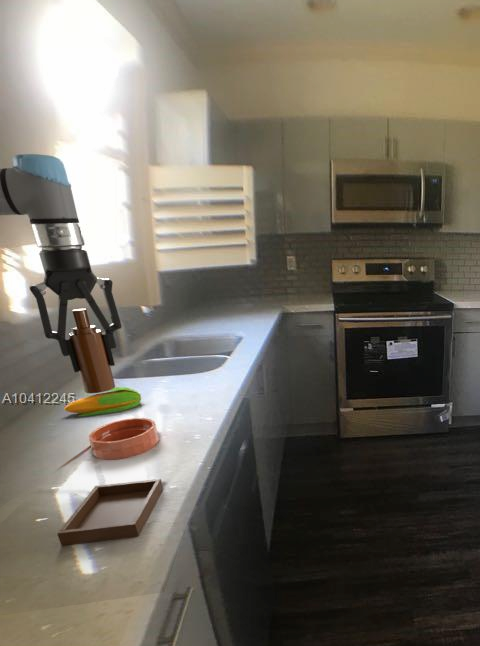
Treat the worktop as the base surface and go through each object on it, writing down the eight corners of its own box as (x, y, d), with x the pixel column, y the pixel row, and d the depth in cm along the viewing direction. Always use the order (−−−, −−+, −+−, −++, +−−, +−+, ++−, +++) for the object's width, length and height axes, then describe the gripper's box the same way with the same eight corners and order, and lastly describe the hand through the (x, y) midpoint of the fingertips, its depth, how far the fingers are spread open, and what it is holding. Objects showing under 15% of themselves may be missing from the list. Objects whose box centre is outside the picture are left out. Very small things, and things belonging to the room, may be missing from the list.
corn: (137, 387, 134) (56, 399, 127) (142, 411, 136) (64, 424, 129) (138, 381, 141) (62, 392, 133) (144, 405, 143) (69, 417, 136)
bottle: (78, 393, 93) (55, 312, 87) (95, 384, 98) (74, 307, 92) (105, 393, 93) (83, 311, 87) (120, 384, 98) (101, 306, 92)
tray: (98, 496, 93) (95, 485, 92) (163, 489, 95) (160, 478, 94) (61, 546, 79) (57, 533, 78) (138, 536, 81) (135, 524, 80)
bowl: (80, 461, 108) (74, 442, 106) (117, 435, 121) (112, 418, 120) (139, 461, 107) (134, 442, 105) (169, 435, 120) (165, 417, 119)
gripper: (-1, 252, 77) (40, 381, 86) (121, 246, 88) (147, 362, 96) (-1, 250, 83) (38, 372, 91) (114, 245, 93) (139, 355, 102)
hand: (94, 367), depth 94 cm, fingers closed on bottle, 6 cm apart
